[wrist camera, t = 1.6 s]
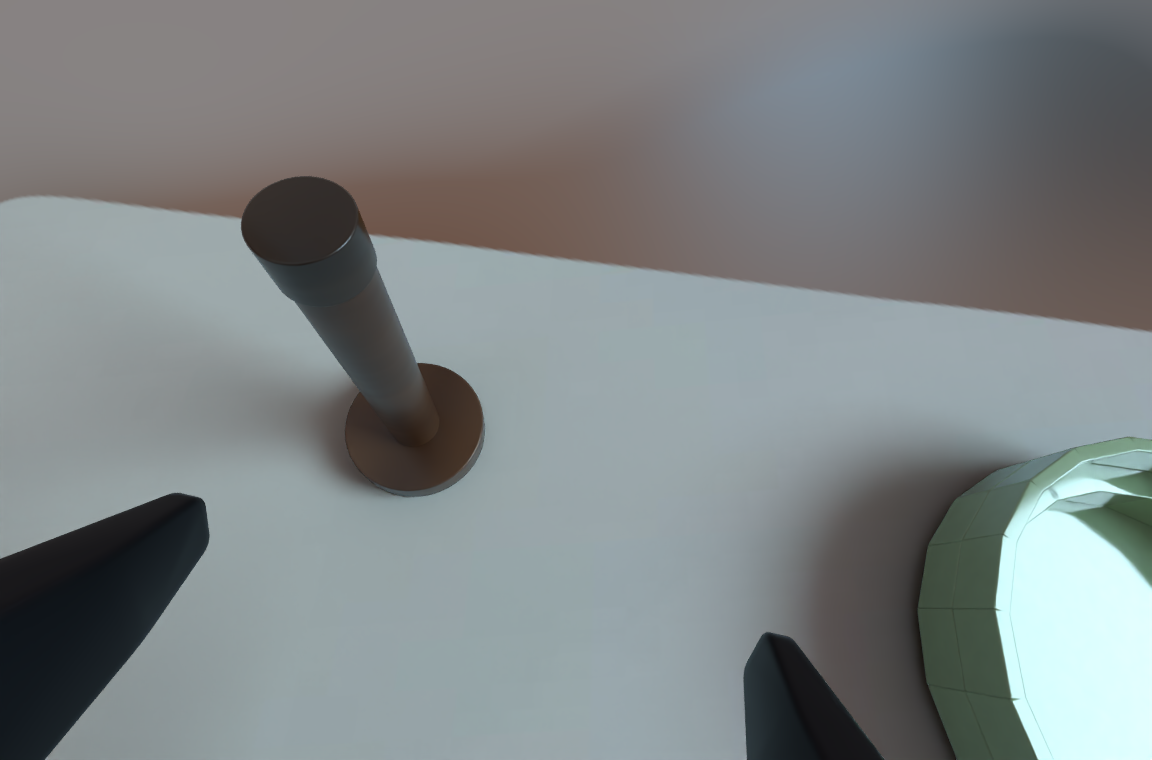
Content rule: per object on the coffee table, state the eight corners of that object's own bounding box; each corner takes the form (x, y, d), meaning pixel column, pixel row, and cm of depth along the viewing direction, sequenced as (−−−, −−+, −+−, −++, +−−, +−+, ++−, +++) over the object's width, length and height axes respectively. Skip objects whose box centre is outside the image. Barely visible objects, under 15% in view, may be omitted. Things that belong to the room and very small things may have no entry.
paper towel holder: (336, 487, 22) (86, 319, 9) (372, 365, 24) (210, 95, 12) (471, 505, 22) (408, 366, 10) (495, 383, 25) (468, 137, 12)
